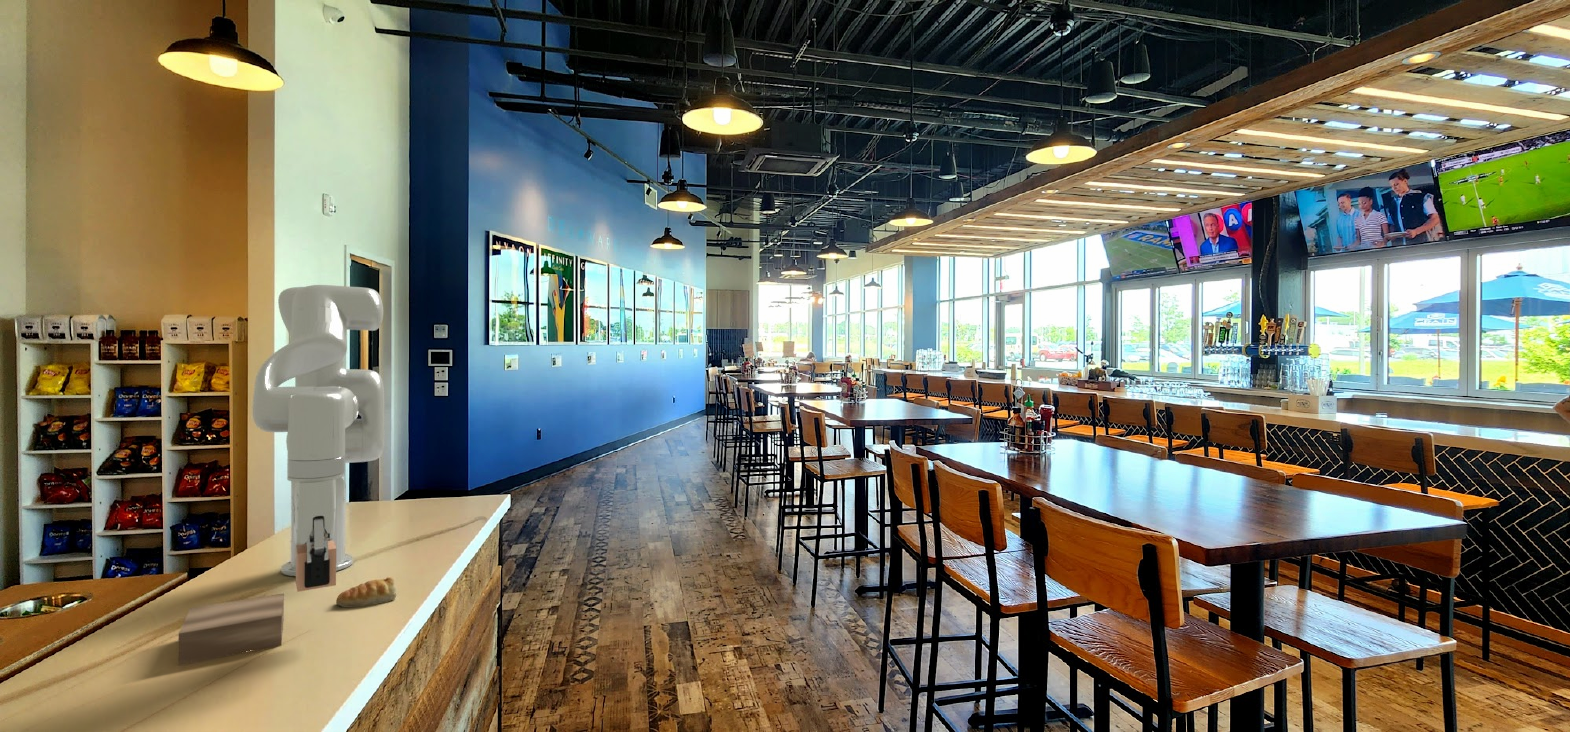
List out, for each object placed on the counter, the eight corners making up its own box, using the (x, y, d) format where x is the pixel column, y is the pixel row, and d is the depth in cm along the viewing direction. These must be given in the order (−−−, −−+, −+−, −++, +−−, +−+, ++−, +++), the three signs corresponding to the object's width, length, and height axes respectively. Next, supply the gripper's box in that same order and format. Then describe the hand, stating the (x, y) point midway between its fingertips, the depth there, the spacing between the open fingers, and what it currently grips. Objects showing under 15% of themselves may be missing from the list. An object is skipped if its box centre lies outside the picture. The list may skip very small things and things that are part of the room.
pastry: (339, 613, 117) (339, 592, 117) (333, 602, 122) (333, 582, 122) (399, 601, 123) (399, 580, 123) (391, 591, 128) (391, 572, 128)
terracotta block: (295, 582, 107) (296, 545, 106) (333, 576, 110) (333, 540, 109) (297, 591, 103) (297, 553, 102) (335, 585, 106) (336, 548, 106)
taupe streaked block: (190, 638, 106) (190, 607, 106) (283, 622, 113) (283, 593, 113) (178, 667, 96) (178, 633, 96) (281, 647, 103) (281, 616, 103)
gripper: (285, 461, 110) (284, 569, 110) (289, 480, 96) (288, 602, 97) (339, 457, 114) (338, 561, 115) (350, 475, 101) (349, 592, 102)
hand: (315, 579), depth 106 cm, fingers closed on terracotta block, 4 cm apart
